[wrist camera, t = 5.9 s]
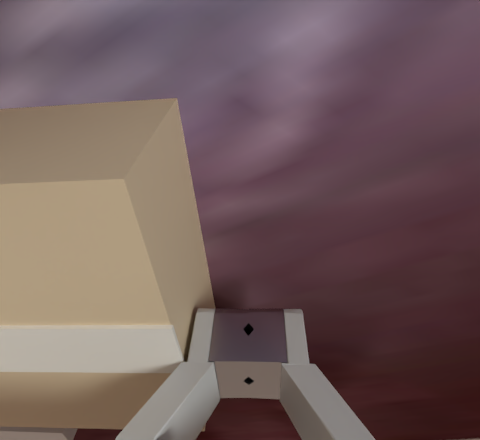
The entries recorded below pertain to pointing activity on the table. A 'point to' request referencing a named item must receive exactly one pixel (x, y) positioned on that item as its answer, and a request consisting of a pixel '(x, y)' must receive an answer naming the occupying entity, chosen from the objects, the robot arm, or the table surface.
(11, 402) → the carton
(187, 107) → the table surface
